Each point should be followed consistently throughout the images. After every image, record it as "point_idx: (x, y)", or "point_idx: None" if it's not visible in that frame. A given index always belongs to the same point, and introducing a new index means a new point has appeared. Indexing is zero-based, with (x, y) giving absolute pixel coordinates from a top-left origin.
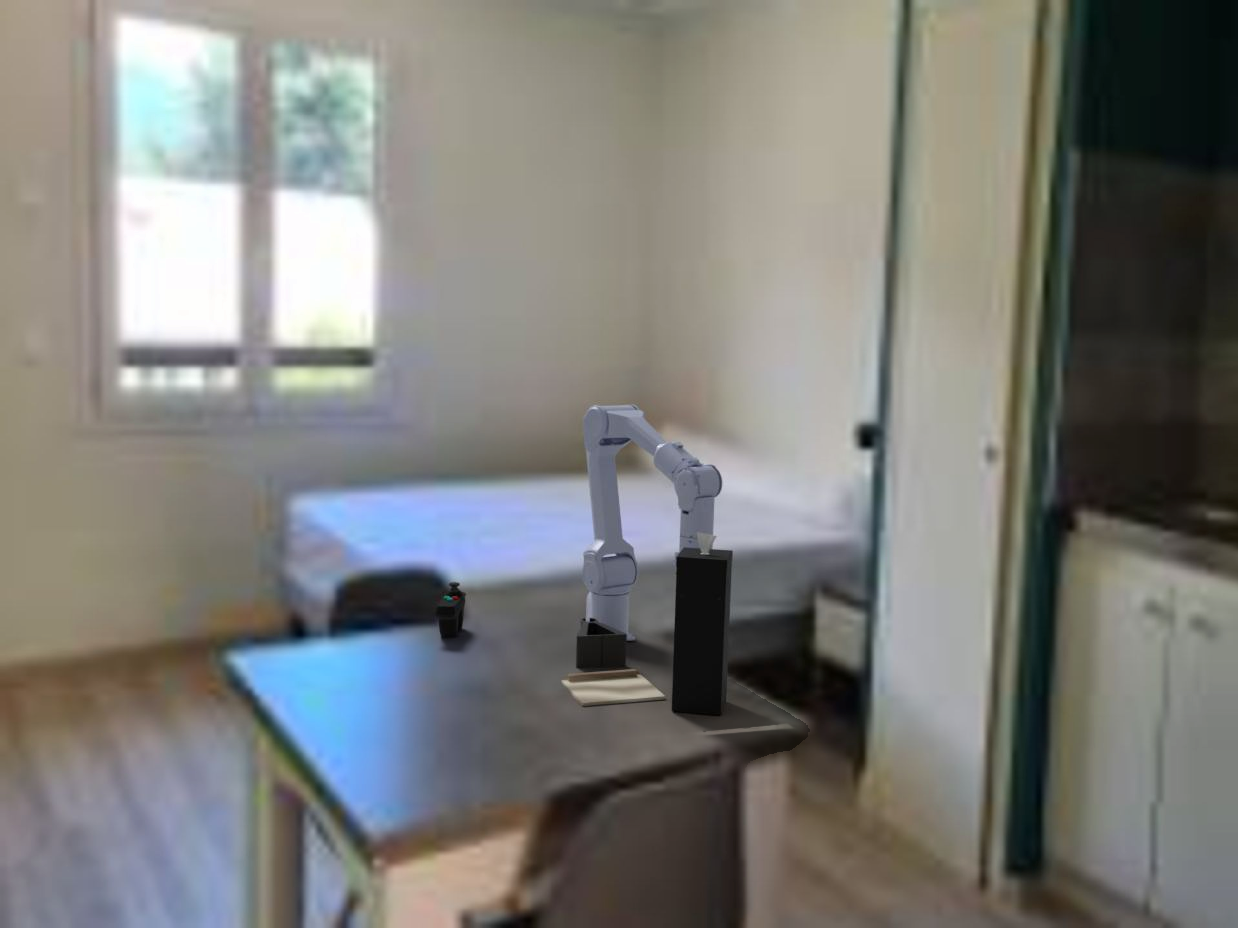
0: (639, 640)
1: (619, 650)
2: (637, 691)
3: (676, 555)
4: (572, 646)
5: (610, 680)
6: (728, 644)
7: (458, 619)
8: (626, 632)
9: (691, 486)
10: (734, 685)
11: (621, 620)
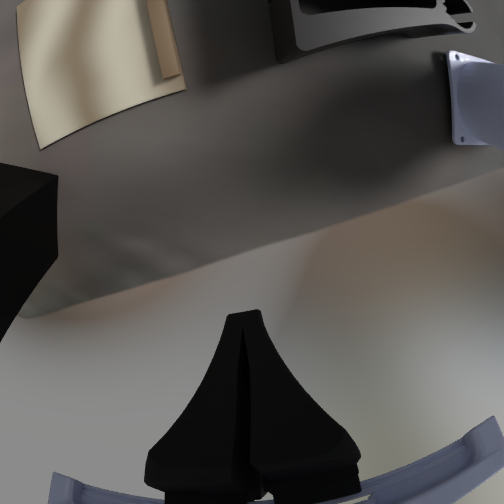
0: (462, 158)
1: (282, 36)
2: (60, 88)
3: (488, 468)
4: None
5: (136, 19)
6: (7, 329)
7: None
8: (473, 132)
9: None
10: (143, 284)
11: (488, 121)
